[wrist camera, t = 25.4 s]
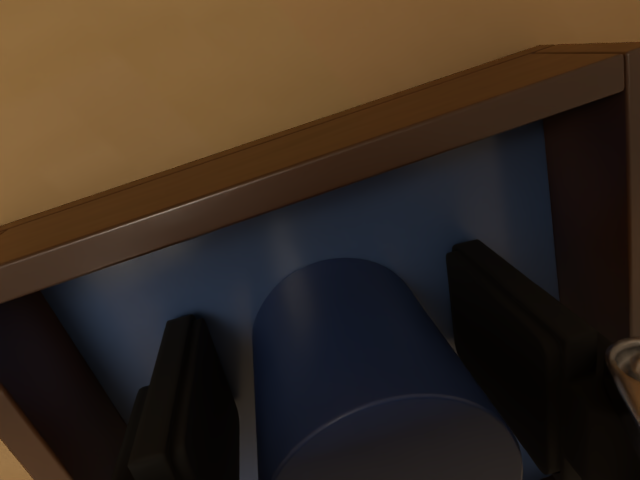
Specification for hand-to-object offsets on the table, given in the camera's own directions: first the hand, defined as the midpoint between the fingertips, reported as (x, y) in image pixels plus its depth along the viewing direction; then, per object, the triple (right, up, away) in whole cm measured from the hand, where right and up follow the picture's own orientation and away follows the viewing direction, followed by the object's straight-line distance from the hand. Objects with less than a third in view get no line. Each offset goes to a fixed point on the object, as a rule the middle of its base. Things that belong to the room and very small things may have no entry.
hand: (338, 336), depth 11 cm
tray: (+2, -7, +4) cm, 8 cm away
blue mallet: (+1, -2, +1) cm, 3 cm away
